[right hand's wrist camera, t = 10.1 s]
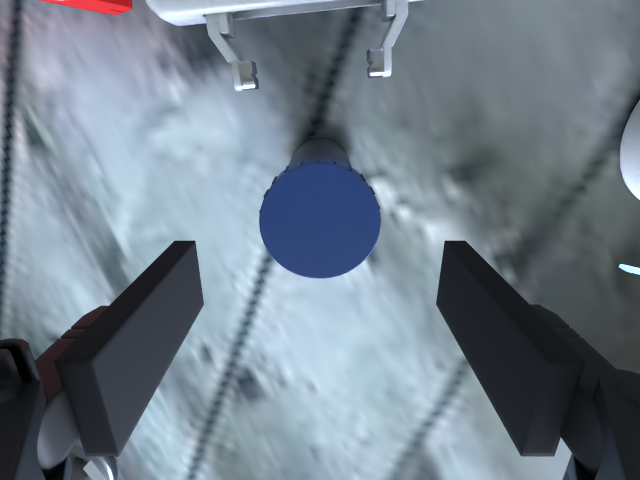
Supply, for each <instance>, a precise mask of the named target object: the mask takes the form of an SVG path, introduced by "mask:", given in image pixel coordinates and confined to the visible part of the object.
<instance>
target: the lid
mask: <svg viewBox="0 0 640 480" xmlns="http://www.w3.org/2000/svg"><path fill="white" fill-rule="evenodd" d="M374 194H375V193H374V191H373V189H372V187H371V186H370V187H369V185H368V183H367V182H366V180H365V178H364V176H363V175H362V174H361V175H360V174H359V173H358V172H357V171H356V170H355V169H353V168H352V167H351V165H350V164H348V165H347V164H345V163H343V162H340V161H337V160H336V159H335V158H333V159H329V158H319V156H317V158H312V159H306V160H303V159H301V161H300V162H297V163H295V164H293V165H291V166H290V167H289V166H287V167H286V169H285V170H284V171H283V172H282V173H281V174H280V175H279V176H278V177H277V176H276V177H275V178H274V180H273V182H272V185H271V187H270V189H269V190H268V189H267V191H266V193H265V195H264V200H263V203H262V206H261V209H260V211H259V213H260V218H259V225H260V232H261V237H262V239H263V242H264V244H265V246H266V248H267V250H268V251H269V253H270V254H271V256H272V257H273V258H274V259H275V260H276V261H277V262H278V263H279V264H280V265H281V266H283V267H284V268H286V269H287V270H289V271H291V272H293V273H295V274H297V275H300V276H304V277H308V278H316V279H325V278H332V277H336V276H340V275H342V274H345V273H347V272H349V271H351V270H353V269H354V268H356V267H357V266H359V265H360V264H361V263H362V262H363V261H364V260H365V259H366V258H367V257H368V256H369V254H370V253H371V251H372V250H373V248H374V246H375V244H376V242H377V239H378V236H379V232H380V225H381V218H380V211H379V210H380V207H379V205H378V203H377V201H376V198H375V196H374Z"/></svg>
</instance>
